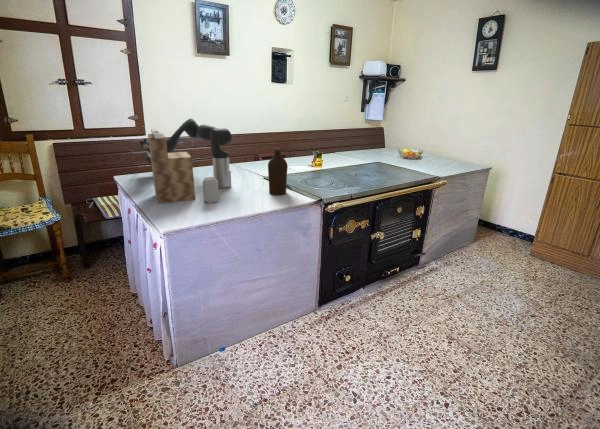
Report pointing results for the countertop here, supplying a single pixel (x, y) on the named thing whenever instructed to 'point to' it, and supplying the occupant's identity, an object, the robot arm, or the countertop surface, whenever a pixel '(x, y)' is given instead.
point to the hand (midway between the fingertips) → (153, 139)
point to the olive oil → (277, 174)
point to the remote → (155, 133)
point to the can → (210, 190)
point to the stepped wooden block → (171, 172)
